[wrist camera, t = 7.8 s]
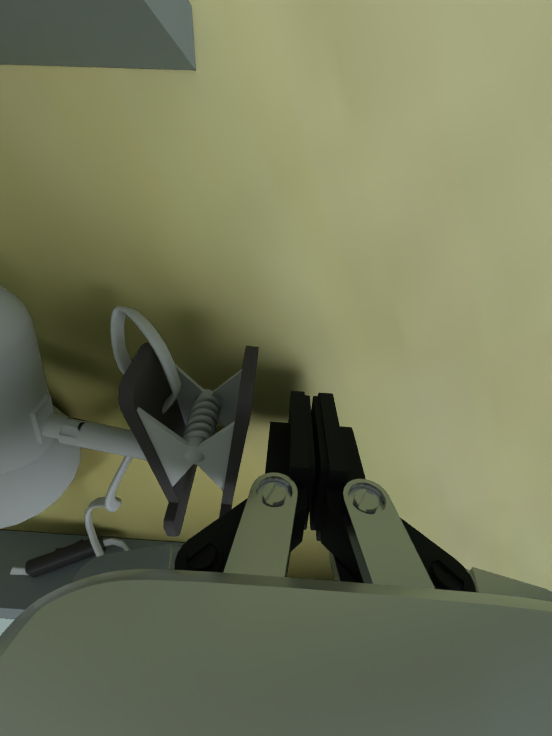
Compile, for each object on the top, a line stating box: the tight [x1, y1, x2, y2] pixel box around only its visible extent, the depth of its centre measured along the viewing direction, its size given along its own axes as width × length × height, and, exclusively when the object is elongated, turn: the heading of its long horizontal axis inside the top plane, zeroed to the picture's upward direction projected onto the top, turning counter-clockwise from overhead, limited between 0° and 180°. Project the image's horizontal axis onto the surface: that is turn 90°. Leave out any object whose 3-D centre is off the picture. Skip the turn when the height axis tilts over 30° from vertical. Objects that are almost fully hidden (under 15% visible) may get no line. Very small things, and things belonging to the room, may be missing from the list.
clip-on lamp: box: [0, 285, 259, 577], centre depth 13 cm, size 12×6×18 cm
